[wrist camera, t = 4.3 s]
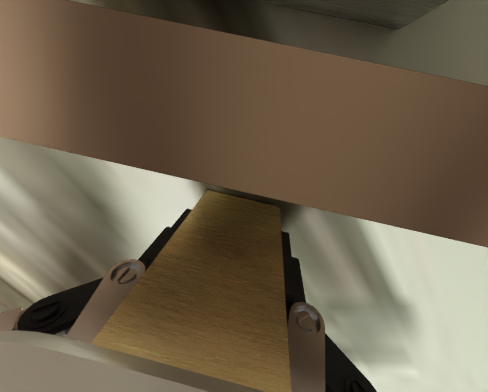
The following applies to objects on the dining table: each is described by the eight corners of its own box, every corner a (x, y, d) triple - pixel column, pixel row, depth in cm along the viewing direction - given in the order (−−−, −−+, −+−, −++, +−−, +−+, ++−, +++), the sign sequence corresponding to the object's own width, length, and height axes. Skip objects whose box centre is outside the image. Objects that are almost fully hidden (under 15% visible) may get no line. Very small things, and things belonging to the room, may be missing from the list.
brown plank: (478, 122, 8) (843, 159, 3) (434, 182, 10) (631, 280, 4) (-23, 17, 9) (-448, -105, 4) (3, 88, 10) (-279, 73, 5)
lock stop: (279, 206, 11) (295, 463, 3) (262, 259, 13) (246, 495, 5) (207, 189, 11) (52, 394, 3) (201, 244, 13) (96, 451, 5)
